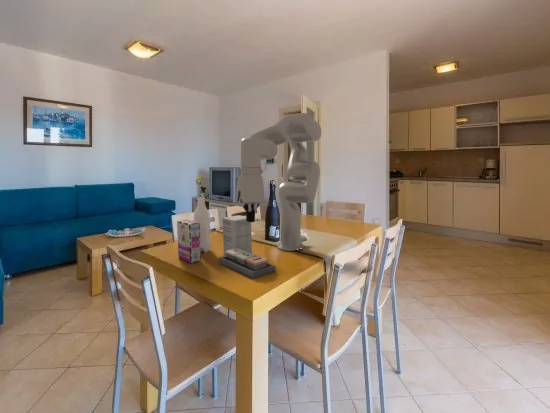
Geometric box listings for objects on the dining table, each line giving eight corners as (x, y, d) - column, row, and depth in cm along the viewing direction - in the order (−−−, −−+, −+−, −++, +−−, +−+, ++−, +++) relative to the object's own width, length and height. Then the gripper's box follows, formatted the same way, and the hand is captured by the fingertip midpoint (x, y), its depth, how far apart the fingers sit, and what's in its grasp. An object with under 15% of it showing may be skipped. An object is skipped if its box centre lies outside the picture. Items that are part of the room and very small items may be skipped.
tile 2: (247, 258, 122) (247, 251, 122) (256, 261, 118) (256, 254, 117) (235, 261, 118) (235, 254, 118) (244, 265, 114) (244, 257, 113)
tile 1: (237, 254, 127) (237, 247, 127) (246, 257, 123) (246, 250, 122) (225, 257, 123) (225, 250, 123) (233, 260, 119) (233, 253, 118)
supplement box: (240, 250, 141) (239, 214, 139) (252, 254, 135) (252, 217, 132) (222, 254, 135) (221, 217, 132) (235, 259, 128) (234, 220, 126)
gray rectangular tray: (240, 257, 130) (240, 252, 130) (275, 271, 113) (275, 265, 113) (219, 263, 123) (219, 257, 123) (252, 279, 106) (252, 272, 106)
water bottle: (207, 253, 136) (205, 198, 132) (192, 253, 137) (189, 198, 134) (213, 249, 143) (211, 196, 139) (199, 248, 144) (197, 196, 140)
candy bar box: (201, 261, 126) (200, 222, 124) (191, 264, 123) (189, 224, 120) (188, 255, 134) (186, 219, 132) (178, 257, 130) (176, 220, 128)
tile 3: (258, 262, 117) (258, 255, 116) (268, 266, 112) (268, 258, 112) (245, 265, 113) (245, 258, 113) (255, 269, 108) (255, 262, 108)
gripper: (260, 172, 119) (260, 218, 121) (228, 172, 109) (228, 222, 111) (273, 172, 113) (272, 221, 115) (239, 172, 104) (239, 225, 106)
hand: (250, 221), depth 113 cm, fingers closed
